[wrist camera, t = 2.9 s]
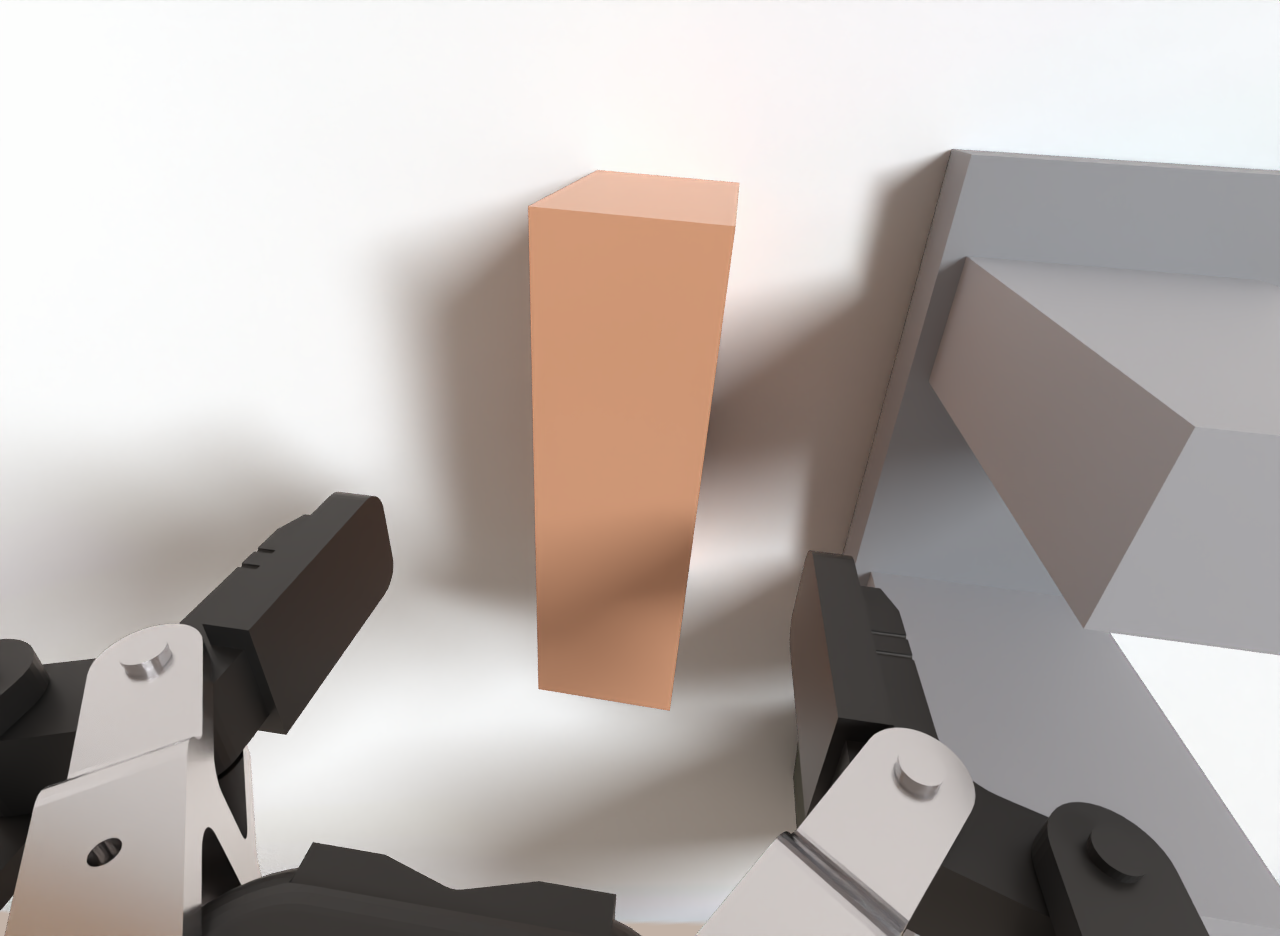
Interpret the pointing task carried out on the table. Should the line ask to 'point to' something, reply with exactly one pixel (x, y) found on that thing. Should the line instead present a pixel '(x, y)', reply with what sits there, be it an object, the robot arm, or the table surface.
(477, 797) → the table surface
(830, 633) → the robot arm
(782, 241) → the table surface
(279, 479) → the table surface
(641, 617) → the rectangular block
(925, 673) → the stand
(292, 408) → the table surface
